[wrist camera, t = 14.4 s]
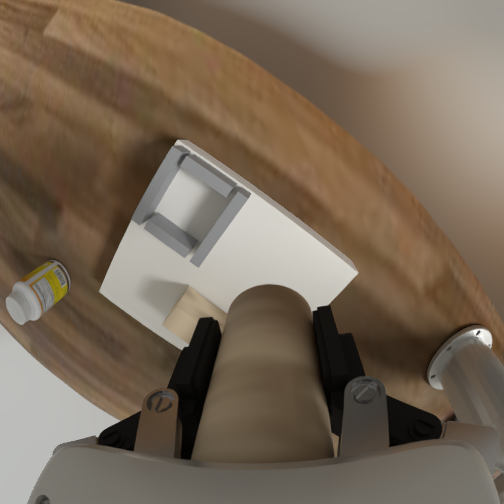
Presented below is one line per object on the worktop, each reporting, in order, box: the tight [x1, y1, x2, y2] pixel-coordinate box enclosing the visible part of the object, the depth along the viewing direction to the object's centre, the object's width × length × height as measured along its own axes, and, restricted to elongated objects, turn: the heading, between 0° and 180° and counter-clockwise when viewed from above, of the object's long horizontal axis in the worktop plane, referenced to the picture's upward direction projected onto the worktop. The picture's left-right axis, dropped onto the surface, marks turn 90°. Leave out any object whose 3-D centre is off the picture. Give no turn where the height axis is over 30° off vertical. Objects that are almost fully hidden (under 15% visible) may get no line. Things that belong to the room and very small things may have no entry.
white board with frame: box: [99, 140, 358, 350], centre depth 29 cm, size 21×20×6 cm
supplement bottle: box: [6, 260, 71, 324], centre depth 29 cm, size 6×6×10 cm
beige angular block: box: [162, 286, 227, 344], centre depth 28 cm, size 12×3×4 cm, turn 51°
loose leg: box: [191, 284, 334, 463], centre depth 9 cm, size 4×4×9 cm
